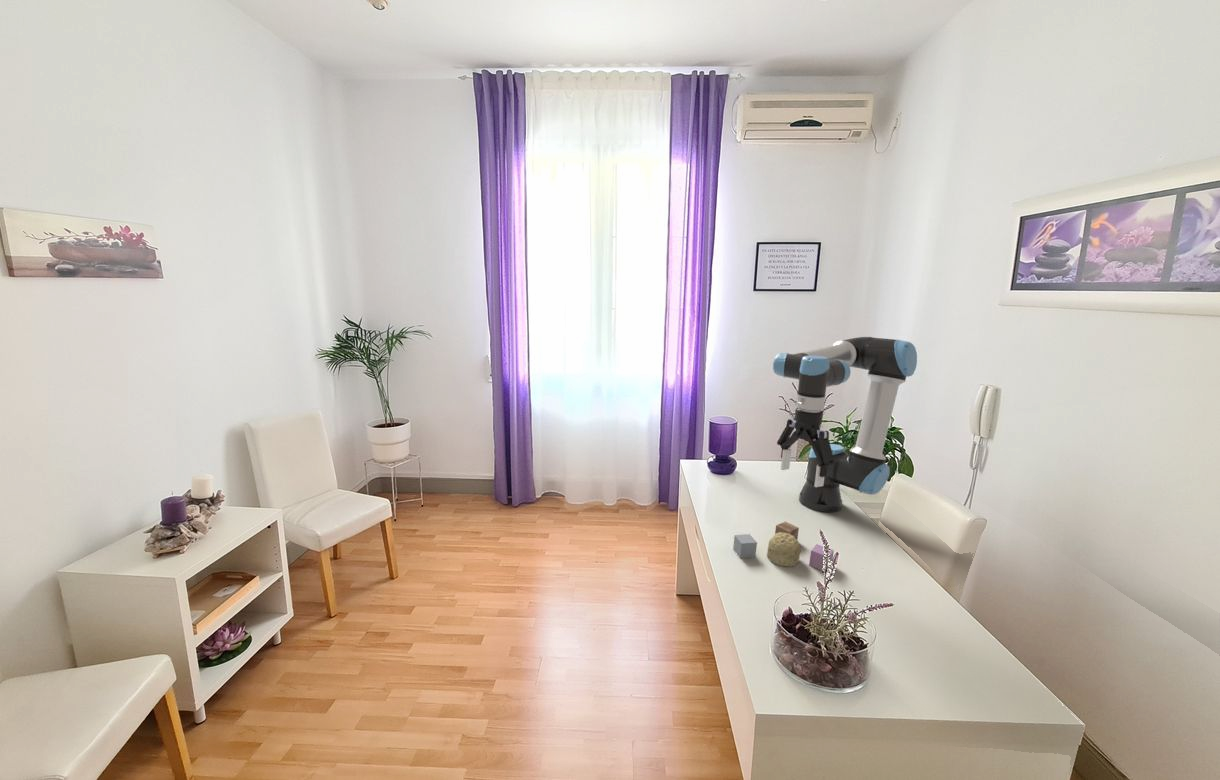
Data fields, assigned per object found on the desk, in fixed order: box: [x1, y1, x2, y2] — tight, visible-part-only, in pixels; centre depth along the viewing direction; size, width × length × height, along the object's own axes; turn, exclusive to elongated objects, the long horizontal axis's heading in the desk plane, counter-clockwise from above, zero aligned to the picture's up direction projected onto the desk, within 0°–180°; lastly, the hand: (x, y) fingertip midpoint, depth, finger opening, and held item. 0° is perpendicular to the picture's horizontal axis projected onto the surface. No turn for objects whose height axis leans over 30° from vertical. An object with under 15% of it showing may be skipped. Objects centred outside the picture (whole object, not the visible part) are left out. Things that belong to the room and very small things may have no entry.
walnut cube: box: [774, 521, 800, 540], centre depth 160 cm, size 5×5×5 cm
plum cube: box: [808, 543, 835, 571], centre depth 146 cm, size 5×5×5 cm
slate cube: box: [732, 533, 758, 559], centre depth 152 cm, size 5×5×5 cm
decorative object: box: [766, 532, 801, 568], centre depth 149 cm, size 9×10×10 cm
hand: (801, 477), depth 148 cm, fingers open, 13 cm apart
